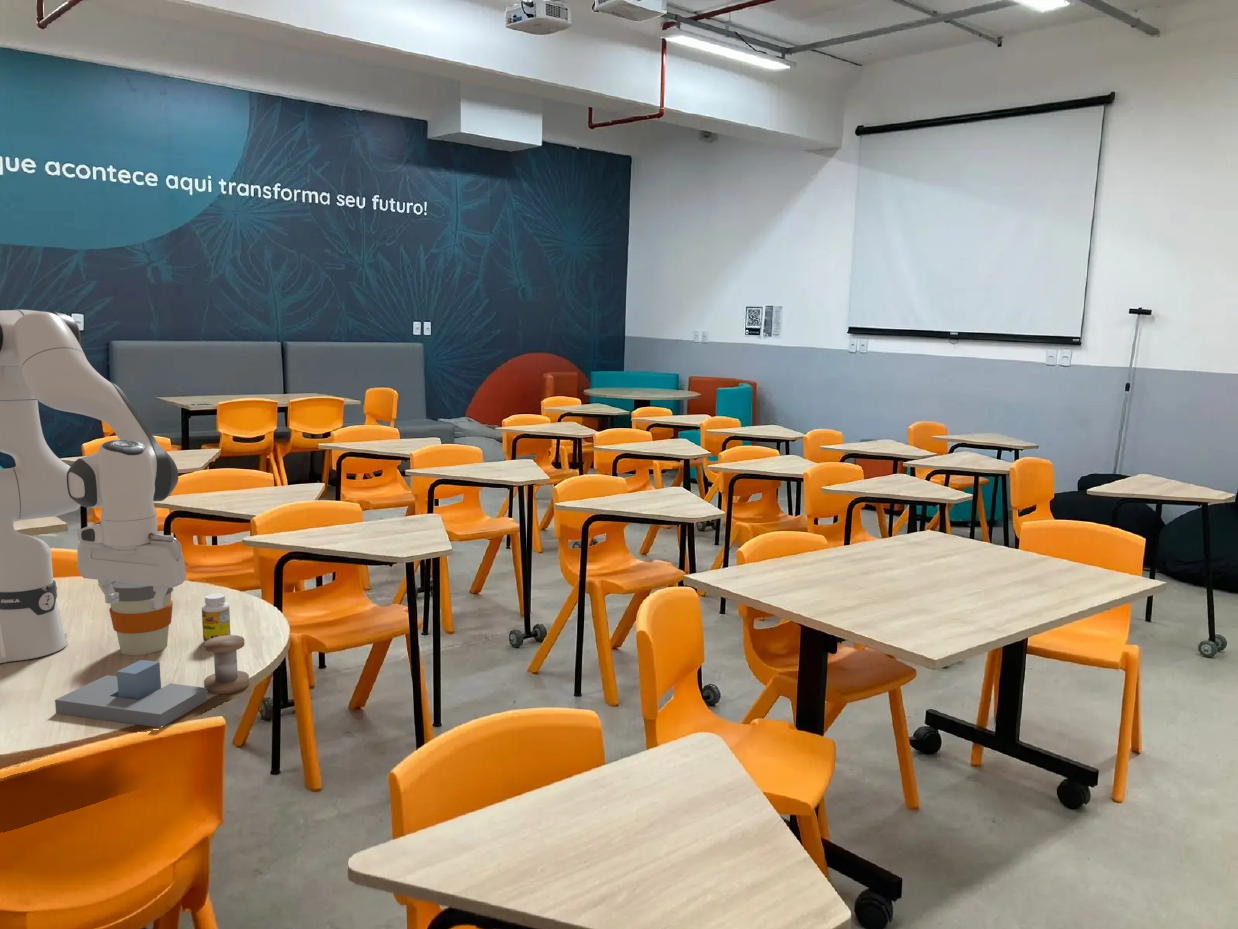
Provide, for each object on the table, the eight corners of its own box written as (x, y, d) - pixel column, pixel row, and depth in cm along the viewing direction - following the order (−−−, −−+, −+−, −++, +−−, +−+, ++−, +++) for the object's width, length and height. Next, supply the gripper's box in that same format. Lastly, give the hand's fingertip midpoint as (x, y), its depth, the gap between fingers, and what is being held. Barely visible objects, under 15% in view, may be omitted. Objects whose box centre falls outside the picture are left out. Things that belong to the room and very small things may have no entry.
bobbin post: (195, 691, 175) (192, 646, 173) (222, 676, 182) (220, 632, 181) (231, 696, 173) (229, 650, 171) (257, 680, 181) (255, 636, 179)
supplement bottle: (197, 642, 201) (195, 597, 199) (219, 634, 206) (217, 590, 204) (214, 647, 198) (212, 601, 197) (236, 639, 203) (234, 594, 201)
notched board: (56, 713, 164) (54, 699, 164) (107, 687, 176) (106, 675, 175) (161, 728, 159) (160, 714, 159) (207, 700, 171) (206, 688, 170)
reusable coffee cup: (149, 660, 190) (145, 590, 187) (96, 655, 192) (91, 586, 190) (189, 640, 202) (185, 574, 199) (139, 635, 204) (134, 570, 202)
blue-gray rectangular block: (119, 708, 167) (116, 671, 166) (143, 695, 173) (141, 659, 172) (138, 710, 166) (135, 673, 165) (161, 697, 172) (159, 662, 171)
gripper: (192, 532, 165) (195, 606, 167) (96, 523, 170) (101, 594, 172) (167, 540, 159) (171, 617, 161) (68, 530, 164) (74, 605, 166)
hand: (134, 605), depth 167 cm, fingers open, 8 cm apart
